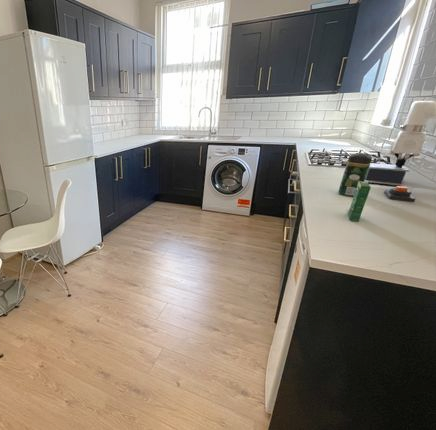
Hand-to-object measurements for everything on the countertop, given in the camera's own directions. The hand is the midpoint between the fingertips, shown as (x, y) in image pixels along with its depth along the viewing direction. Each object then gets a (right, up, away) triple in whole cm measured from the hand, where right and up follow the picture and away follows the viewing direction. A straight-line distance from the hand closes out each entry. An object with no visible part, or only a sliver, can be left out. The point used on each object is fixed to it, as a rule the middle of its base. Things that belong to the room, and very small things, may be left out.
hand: (398, 166), depth 140 cm
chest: (-4, -7, +6) cm, 10 cm away
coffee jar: (-35, -15, -11) cm, 39 cm away
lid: (-4, 0, +3) cm, 5 cm away
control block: (-17, -16, -16) cm, 29 cm away
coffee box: (-55, -25, -37) cm, 70 cm away
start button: (-17, -14, -17) cm, 28 cm away
